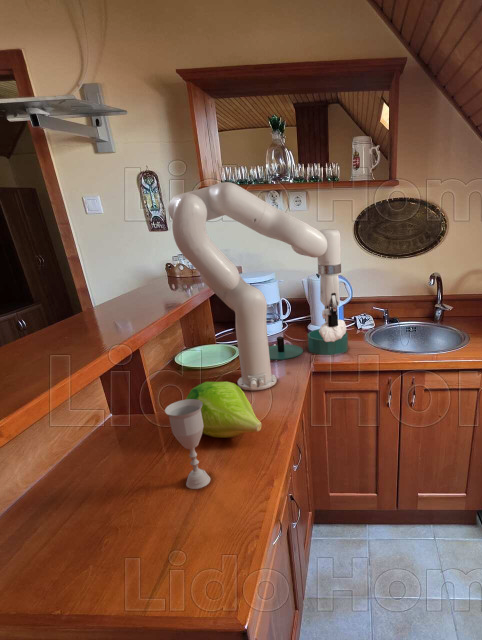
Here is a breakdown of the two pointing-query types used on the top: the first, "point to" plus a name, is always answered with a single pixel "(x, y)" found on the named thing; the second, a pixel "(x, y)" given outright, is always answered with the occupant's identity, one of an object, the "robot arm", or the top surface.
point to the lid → (284, 350)
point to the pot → (326, 344)
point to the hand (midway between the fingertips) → (331, 323)
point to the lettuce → (224, 409)
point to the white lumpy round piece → (331, 329)
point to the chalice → (189, 435)
